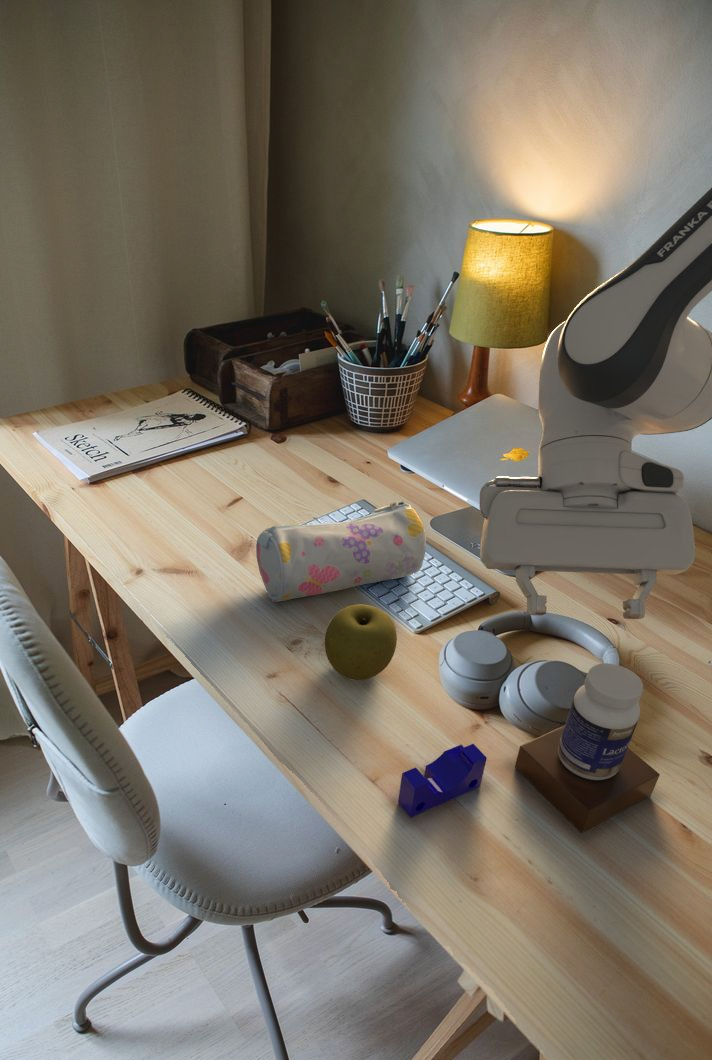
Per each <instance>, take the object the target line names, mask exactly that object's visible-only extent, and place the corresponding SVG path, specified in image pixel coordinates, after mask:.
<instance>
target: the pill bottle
mask: <svg viewBox="0 0 712 1060" xmlns="http://www.w3.org/2000/svg"><path fill="white" fill-rule="evenodd" d="M643 692H644V684H643V681H642V679H641V678H640V676H638V675H637V673H635V672H634V671H632V670H630V669H629V668H627V667H625V666H623V665H619V664H615V663H603V662H602V663H598V664H596V665H595V664H594V665H593V666H592V667H591V668H589V670H588V672H587V675H586V677H585V680H584V684H583V685H581V686H580V687H579V688H578V689H577V690H576V692H575V694H574V696H573V700H572V703H571V706H570V708H569V711H568V714H567V717H566V721H565V724H564V726H565V727H564V730H563V733H562V736H561V739H560V742H559V746H558V754H559V758H560V760H561V762H562V763H563V764H564V766H565V767H566V768H567V769H569V770H570V771H571V772H573V773H574V774H576V775H578V776H580V777H583V778H586V779H591V780H604V779H608V778H610V777H612V776H614V775H615V774H616V773H617V772H618V771H619V769H620V766H621V764H622V761H623V759H624V756H625V754H626V751H627V748H629V746H630V744H631V743H630V742H631V740H632V737H633V736H634V732H635V730H636V727H637V725H638V722H639V719H640V717H641V705H640V703H639V702H640V701H641V697H642V695H643Z"/></svg>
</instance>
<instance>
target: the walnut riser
mask: <svg viewBox="0 0 712 1060" xmlns="http://www.w3.org/2000/svg"><path fill="white" fill-rule="evenodd" d="M564 727H565V725H563V726H561V727H558V728H556V729H554V730H552V731H550V732H548V733H545V734H543V735H540V736H539V737H537V738H534V739H532V740H530V741H528V742H525V743H523V744H521V745H520V746H519V749H518V752H517V757H516V760H515V764H514V768H515V770H517V771H518V772H519V773H520V774H521V775H522V776H523V777H524V778H525V779H526V780H527V781H528V782H529V783H530V784H531V785H532V786H533V787H534V788H535V789H536V791H538V792H539V793H540V794H542V796H543V797H544V798H545V799H546V800H547V801H548V802H549V803H550V804H552V805H553V806H554V807H555V809H556V810H558V812H560V813H561V814H562V815H563V816H564V817H565V818H566V819H567V820H568V821H569V822H570V823H571V824H572V825H573V827H575V828H576V829H577V830H578V831H579V832H580V833H584V832H586V831H588V830H591V829H592V828H594V827H595V826H597V825H599V824H601V823H603V822H605V821H607V820H608V819H610V818H612V817H615V816H616V815H618V814H620V813H621V812H624V811H626V810H627V809H629V808H631V807H633V806H635V805H636V804H638V803H640V802H642V801H644V800H646V799H648V798H650V797H651V796H652V795H653V792H654V790H655V787H656V785H657V782H658V780H659V778H660V775H661V774H660V773H659V772H658V771H657V770H655V768H654V767H652V766H651V765H650V764H649V763H647V762H646V761H645V760H643V759H642V758H641V757H640V756H639V755H638V754H637V753H635V752H634V751H633V750H632V749H631V748H630V747H628V748H627V751H626V754H625V756H624V759H623V761H622V764H621V766H620V769H619V771H618V772H617V773H616V774H615V775H614V776H612V777H610V778H608V779H604V780H591V779H586V778H583V777H580V776H578V775H576V774H574V773H573V772H571V771H570V770H569V769H567V768H566V767H565V766H564V764H563V763H562V762H561V760H560V758H559V754H558V746H559V742H560V739H561V736H562V733H563V730H564Z"/></svg>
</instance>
